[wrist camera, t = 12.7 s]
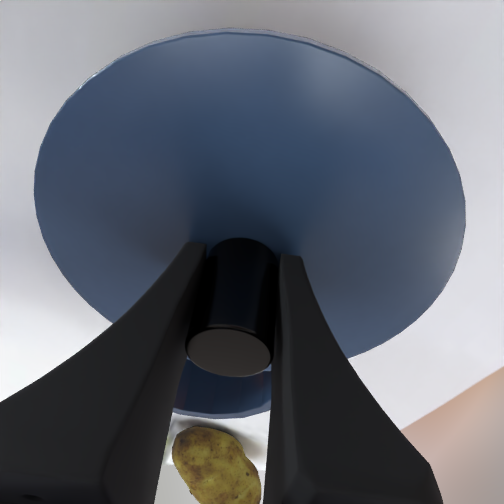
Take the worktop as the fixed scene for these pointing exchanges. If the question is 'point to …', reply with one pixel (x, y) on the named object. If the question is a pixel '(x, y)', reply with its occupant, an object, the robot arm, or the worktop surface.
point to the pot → (221, 394)
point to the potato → (215, 467)
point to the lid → (251, 189)
